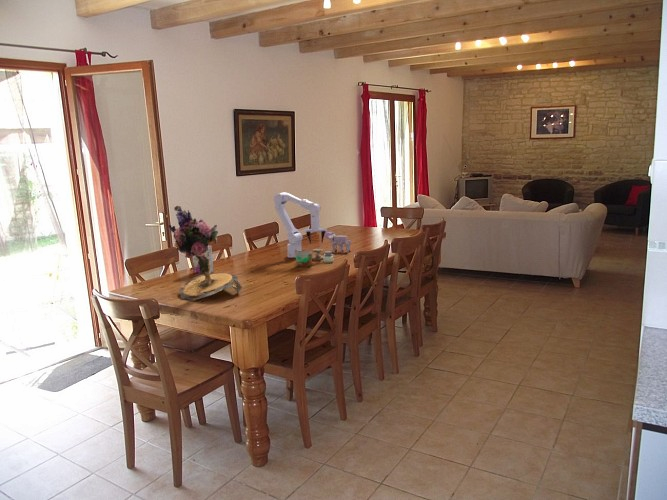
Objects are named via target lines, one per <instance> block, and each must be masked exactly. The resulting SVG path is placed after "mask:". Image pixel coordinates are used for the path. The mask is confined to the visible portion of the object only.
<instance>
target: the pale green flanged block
mask: <svg viewBox="0 0 667 500" xmlns="http://www.w3.org/2000/svg"><path fill="white" fill-rule="evenodd" d="M323 256H324V259H323V263H334V253H332V256H331V257H325V253H324V254H323Z"/></svg>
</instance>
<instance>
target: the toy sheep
mask: <svg viewBox="0 0 667 500" xmlns="http://www.w3.org/2000/svg"><path fill="white" fill-rule="evenodd" d="M324 238H327V239H328V240H329V242H330V243H331V246H332V252H333V253H335V252H336V251H338V247H339V251H340V253H343V251H344V247H345V251H346V253H348V254H349V252H350V251H351V244H352V240H348V235H336V233H335V231H327V232H325V235H324Z"/></svg>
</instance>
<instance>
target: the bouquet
mask: <svg viewBox="0 0 667 500" xmlns="http://www.w3.org/2000/svg"><path fill="white" fill-rule="evenodd" d="M173 210H174V211H175V212H176V213H175V216H176V219H177V223H178V226H179V228H178V227H177V228H176V226H175V225H173V226H172V225H171V224H168V229H170V232H172V233H173V239H174V242H175V243H174V244H173V245H174V247H175V248H176V250H177V251H179V252H180V253H182V254H185V255H184V257H185V258H187V259H190V258H192V256H196V257H197V258H198V259H199V261H198V264H199V265H200V266H199V267H200V272H201V273H200V275H197V276H195V277H193V278H191V279H189V280H187V282H186V283H184V284H182V286H181V287H180V288H179V293H178V294H180V298H182V299H181V300H186V299H187V301H189V300H190V302H193V301H196V300H200V299H203V298H206V297H209V296H212V295H215V294H217V293H218V292H221V291H223V290H227V289H229V288H231V287H232V288H233V289H234V290H235V291H236V294H239V292H240V291H241V290H242V289H243V286H242V285H241V284H240V282H239V278H238V276H237V275H235V274H230V273H210V262H209V260H208V259H207V258H206V257H204V256H203V254H205V253H206V251H207V249H208V246H209V244H210V243H211V242H213V243H214V244H218V233H219V231H218V230H217V227H218V226H217V224H214V226H213V227H210V226H208V225H207V223H206V221H204V220H203V219H201V218H200V220H199V221H198V220H197V218H196V217H195V218H194V219H193V217H192V213H191V211H190V210H187V211H186V210H183V209H182V207H181V205H176V206H174V207H173Z"/></svg>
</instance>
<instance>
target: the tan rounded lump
mask: <svg viewBox="0 0 667 500" xmlns="http://www.w3.org/2000/svg"><path fill="white" fill-rule="evenodd" d="M312 252H313V253H314V255H315V256H312V260H315V261H321V260H324V255H322V254H321V253H323V252H324V249H323V248H315V249H314V248H313V249H312Z"/></svg>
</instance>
